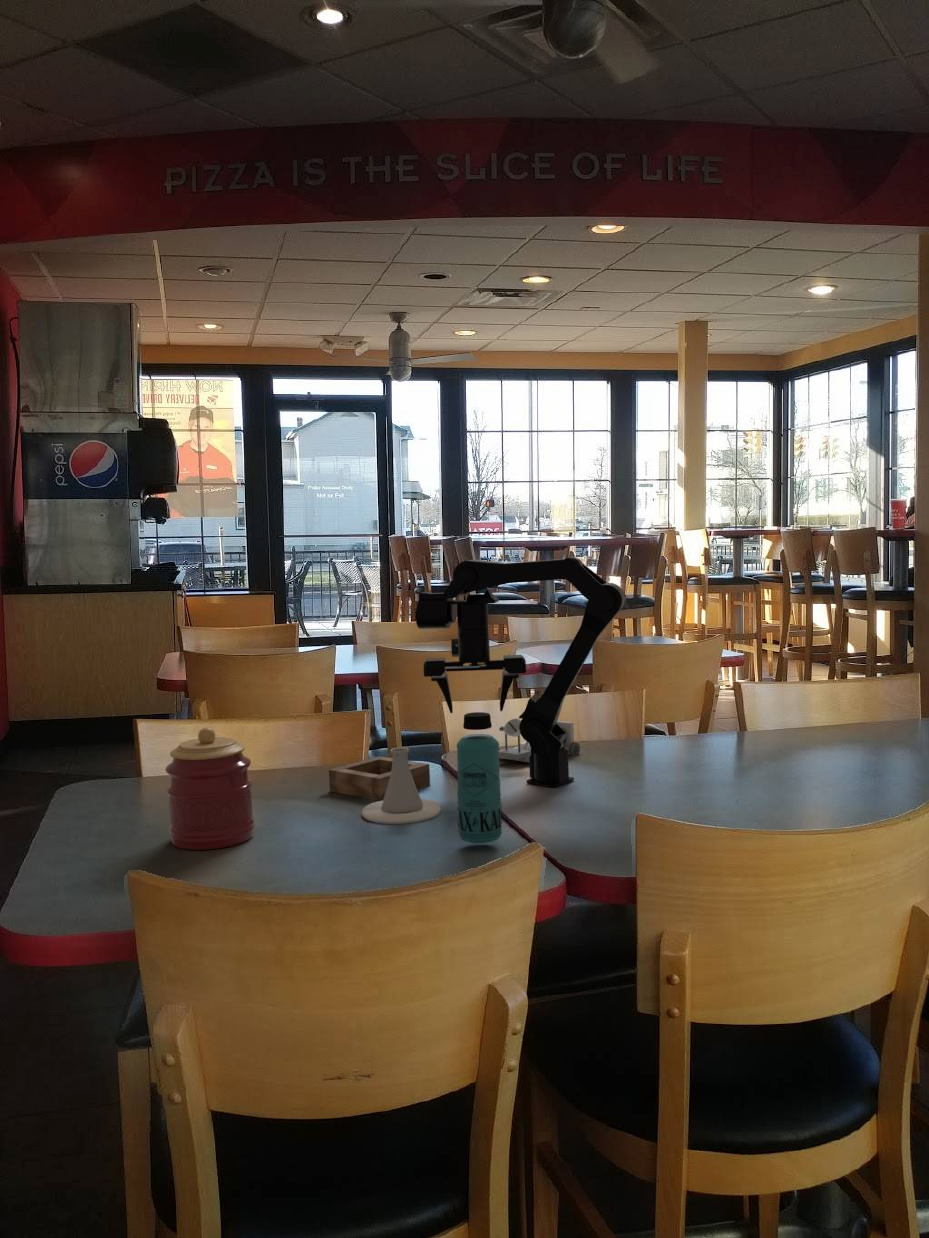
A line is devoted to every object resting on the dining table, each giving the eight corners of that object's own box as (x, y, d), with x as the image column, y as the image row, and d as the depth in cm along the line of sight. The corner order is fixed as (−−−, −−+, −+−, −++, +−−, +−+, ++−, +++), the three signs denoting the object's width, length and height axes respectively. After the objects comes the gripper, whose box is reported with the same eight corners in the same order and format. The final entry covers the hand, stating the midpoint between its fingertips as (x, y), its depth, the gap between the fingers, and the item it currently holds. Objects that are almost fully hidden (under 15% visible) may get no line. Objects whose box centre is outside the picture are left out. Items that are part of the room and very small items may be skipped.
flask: (429, 810, 171) (426, 751, 170) (386, 816, 169) (384, 755, 168) (416, 800, 178) (414, 743, 177) (375, 805, 175) (372, 747, 175)
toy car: (523, 722, 199) (478, 717, 207) (525, 772, 200) (480, 765, 208) (579, 708, 213) (534, 703, 220) (580, 755, 213) (536, 749, 221)
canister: (176, 856, 154) (169, 739, 153) (164, 834, 166) (157, 725, 164) (263, 843, 159) (257, 729, 158) (245, 822, 171) (239, 717, 170)
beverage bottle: (457, 841, 156) (452, 710, 154) (500, 838, 157) (496, 708, 155) (460, 855, 150) (455, 718, 148) (506, 852, 150) (501, 715, 148)
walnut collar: (430, 785, 191) (429, 764, 191) (380, 801, 181) (379, 778, 181) (380, 776, 200) (379, 756, 199) (329, 791, 190) (328, 769, 190)
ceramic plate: (456, 809, 174) (456, 804, 174) (402, 828, 164) (402, 823, 164) (400, 798, 182) (400, 794, 182) (346, 816, 173) (345, 811, 173)
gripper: (521, 622, 199) (524, 702, 200) (424, 625, 199) (427, 706, 200) (524, 627, 188) (527, 713, 189) (421, 631, 188) (425, 716, 189)
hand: (476, 711), depth 192 cm, fingers open, 9 cm apart
